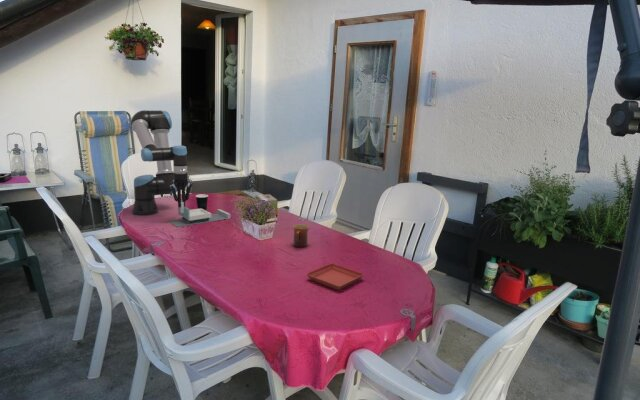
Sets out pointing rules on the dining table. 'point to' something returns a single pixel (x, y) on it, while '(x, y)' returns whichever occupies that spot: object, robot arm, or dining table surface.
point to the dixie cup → (202, 201)
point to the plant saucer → (334, 276)
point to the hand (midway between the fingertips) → (181, 212)
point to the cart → (194, 214)
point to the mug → (300, 235)
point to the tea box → (269, 200)
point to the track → (214, 217)
